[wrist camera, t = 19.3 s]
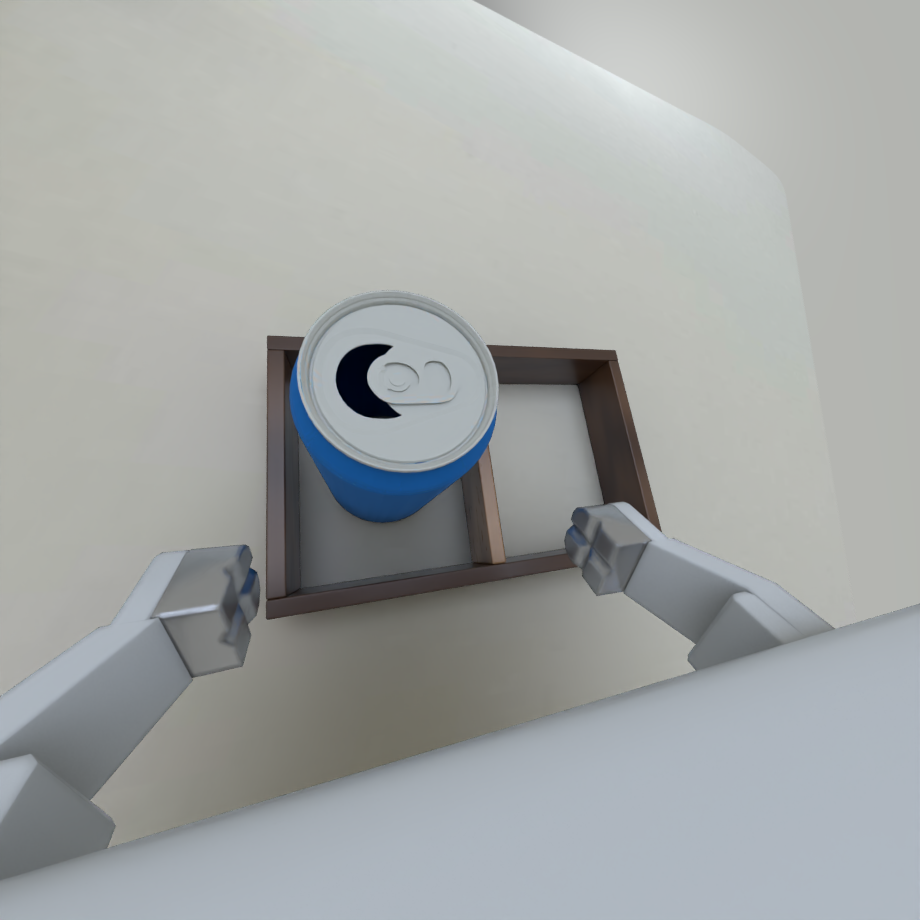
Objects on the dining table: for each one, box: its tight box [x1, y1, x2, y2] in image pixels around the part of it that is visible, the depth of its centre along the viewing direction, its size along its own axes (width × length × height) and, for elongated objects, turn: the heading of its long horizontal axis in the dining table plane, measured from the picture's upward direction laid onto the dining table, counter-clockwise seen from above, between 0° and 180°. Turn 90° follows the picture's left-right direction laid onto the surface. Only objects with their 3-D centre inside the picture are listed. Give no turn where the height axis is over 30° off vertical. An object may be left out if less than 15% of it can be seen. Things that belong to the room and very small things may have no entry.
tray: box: [266, 336, 662, 620], centre depth 20 cm, size 14×22×4 cm, turn 98°
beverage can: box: [289, 290, 499, 523], centre depth 15 cm, size 6×6×12 cm
